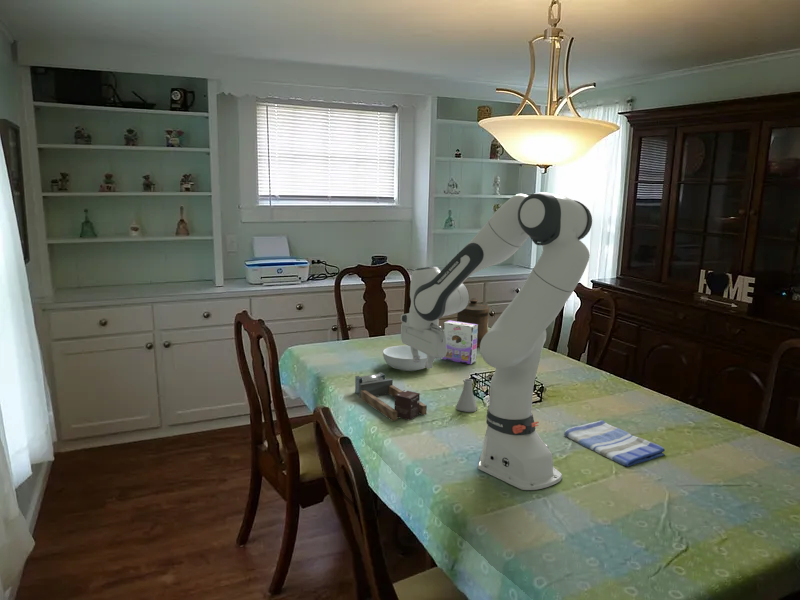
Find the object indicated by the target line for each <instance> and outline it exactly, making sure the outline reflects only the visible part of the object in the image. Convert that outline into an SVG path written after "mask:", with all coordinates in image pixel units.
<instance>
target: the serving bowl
mask: <svg viewBox="0 0 800 600" xmlns="http://www.w3.org/2000/svg"><path fill="white" fill-rule="evenodd" d="M418 354H419V356H420V362H414V361H413V356H412V352H411V347H410V346H408V345H406V344H404V345H394V346H388V347H386V348H384V349H383V350H382V356H383V360H384V361H385V363H386V364H387V365H388V366H389V367H391V368H393V369H396V370H399V371H404V372H415V371H420V370H424V369H425V368H426V367H425V362H427V360H428V358H427V354H425V353H423V352H421V351H419V350H418ZM426 369H427V368H426Z"/></svg>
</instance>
